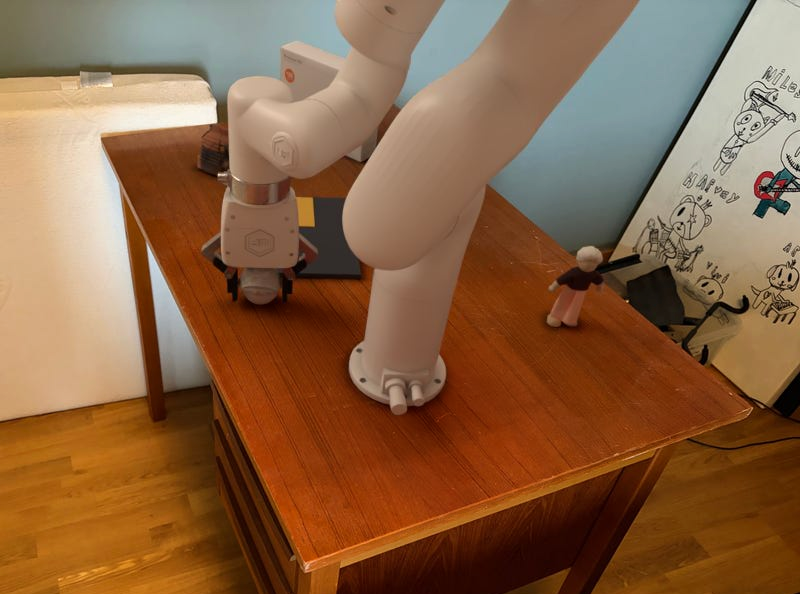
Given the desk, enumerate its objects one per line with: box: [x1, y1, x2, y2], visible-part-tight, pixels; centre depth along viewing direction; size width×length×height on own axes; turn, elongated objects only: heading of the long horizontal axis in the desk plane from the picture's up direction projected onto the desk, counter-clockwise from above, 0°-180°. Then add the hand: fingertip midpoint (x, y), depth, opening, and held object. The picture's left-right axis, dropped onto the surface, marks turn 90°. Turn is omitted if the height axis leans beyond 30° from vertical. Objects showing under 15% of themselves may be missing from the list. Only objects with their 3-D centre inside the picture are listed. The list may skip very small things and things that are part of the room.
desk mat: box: [276, 196, 362, 280], centre depth 111 cm, size 22×16×1 cm
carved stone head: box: [238, 267, 282, 306], centre depth 97 cm, size 6×7×7 cm
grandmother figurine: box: [546, 245, 605, 328], centre depth 96 cm, size 8×4×13 cm, turn 105°
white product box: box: [279, 40, 379, 163], centre depth 131 cm, size 21×5×16 cm, turn 50°
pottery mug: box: [196, 123, 230, 177], centre depth 125 cm, size 12×10×8 cm
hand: (260, 295), depth 98 cm, fingers open, 6 cm apart
